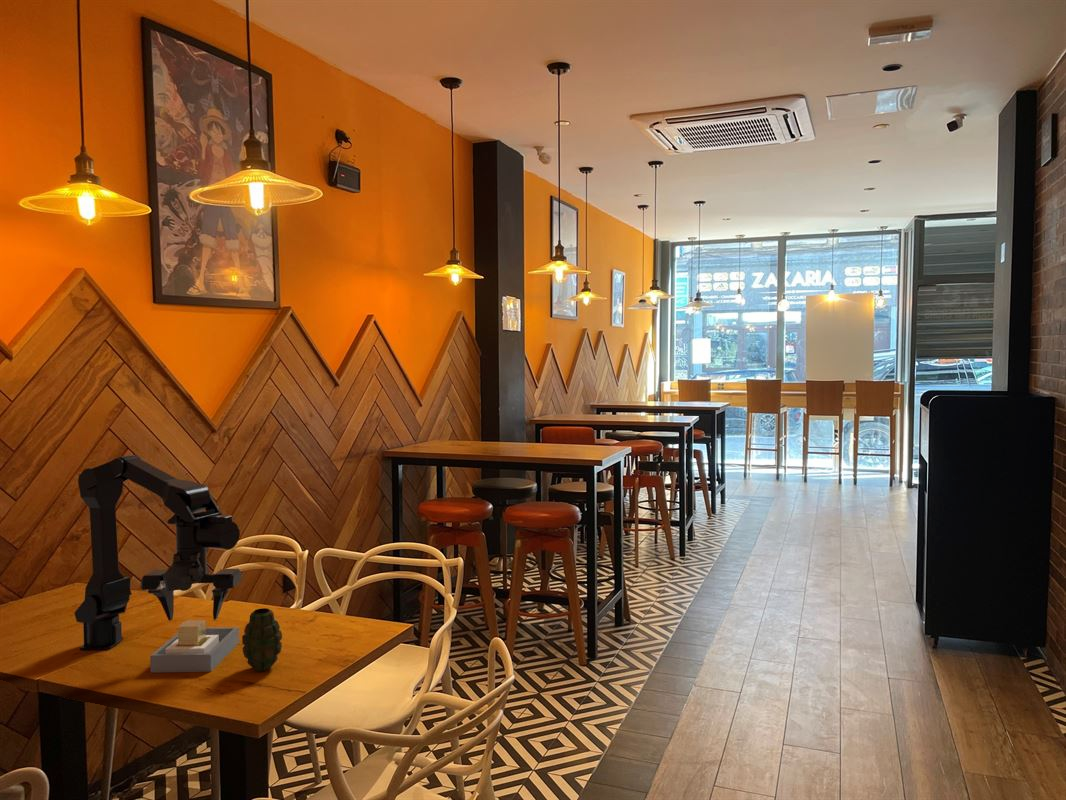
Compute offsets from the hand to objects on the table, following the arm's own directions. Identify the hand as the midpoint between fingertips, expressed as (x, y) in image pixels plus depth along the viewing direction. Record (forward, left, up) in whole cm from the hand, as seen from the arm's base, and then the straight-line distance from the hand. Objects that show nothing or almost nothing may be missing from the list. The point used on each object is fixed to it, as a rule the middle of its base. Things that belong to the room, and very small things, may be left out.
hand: (193, 619), depth 157 cm
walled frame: (0, +2, -9) cm, 9 cm away
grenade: (+16, -5, -9) cm, 19 cm away
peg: (0, 0, -9) cm, 9 cm away
